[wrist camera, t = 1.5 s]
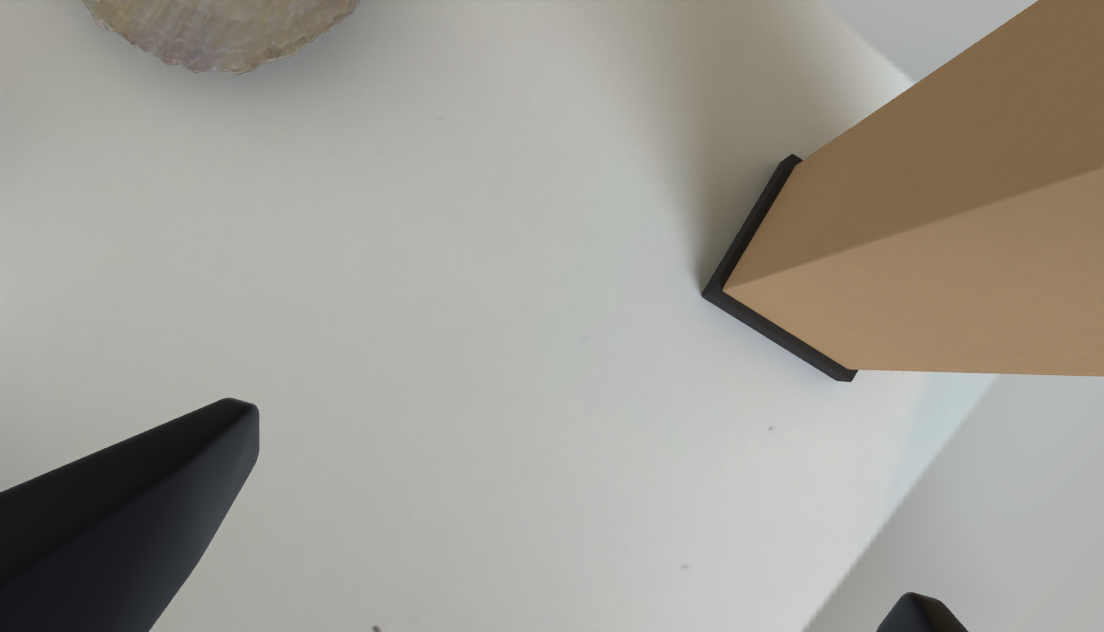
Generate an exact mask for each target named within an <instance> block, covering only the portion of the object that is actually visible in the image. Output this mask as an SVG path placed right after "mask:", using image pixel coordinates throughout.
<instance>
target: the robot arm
mask: <svg viewBox="0 0 1104 632" xmlns="http://www.w3.org/2000/svg"><path fill="white" fill-rule="evenodd" d="M258 454H259V410H258V408H257V406H255V405H254V404H252V403H248V402H245V401H241V400H238V399H234V398H224V399H221V400H219V401H217V402H214V403H212V404H209V405H207V406H205V407H202V408H200V409H198V410H195V411H193V412H190V413H188V414H186V415H183V416H181V417H179V418H176V419H174V420H171V421H169V422H167V423H164V424H162V425H159V426H157V427H155V428H152V429H150V430H148V431H145V432H143V433H140V434H138V435H136V436H133V437H131V438H129V439H126V440H124V441H121V442H119V443H117V444H114V445H112V446H110V447H107V448H105V449H102V450H100V451H98V452H95V453H93V454H91V455H88V456H86V457H83V458H81V459H79V460H76V461H74V462H72V463H69V464H67V465H64V466H62V467H60V468H57V469H55V470H52V471H50V472H48V473H45V474H43V475H41V476H38V477H36V478H33V479H31V480H29V481H26V482H24V483H22V484H19V485H17V486H14V487H12V488H10V489H7V490H5V491H3V492H0V632H149V630H150V629H151V628H152V626H153V625H154V623H155V622H156V621H157V619H158V618H159V617H160V615H161V614H162V612H163V611H164V610H165V608H166V607H167V606H168V604H169V603H170V601H171V600H172V599H173V597H174V596H175V595H176V593H177V592H178V590H179V589H180V588H181V586H182V585H183V584H184V582H185V581H186V579H187V578H188V577H189V575H190V574H191V572H192V571H193V569H194V568H195V566H196V565H197V564H198V562H199V560H200V559H201V557H202V555H203V554H204V552H205V551H206V549H207V547H208V546H209V544H210V542H211V540H212V539H213V537H214V535H215V533H216V532H217V530H218V528H219V526H220V525H221V523H222V521H223V519H224V518H225V516H226V514H227V512H228V511H229V509H230V507H231V505H232V504H233V502H234V500H235V499H236V497H237V495H238V493H239V492H240V490H241V488H242V486H243V485H244V483H245V481H246V479H247V478H248V476H249V474H250V472H251V471H252V469H253V467H254V465H255V463H256V461H257V458H258ZM877 632H968V631H967V630H966V628H965V627H964V626H963V625H962V624H961V623H960V622H959V621H958V620H957V618H956V617H955V616H954V615H953V614H952V613H951V611H950V610H949V609H948V608H947V607H946V606H945V605H944V604H943V603H942V602H941V601H939V600H937V599H935V598H931V597H928V596H924V595H920V594H917V593H913V592H908V593H906V594H904V595H903V596H901V598H900V599H899V600H898V601H897V603H896V604H895V605H894V607H893V608H892V609H891V611H890V612H889V614H888V615H887V616H886V618H885V619H884V620H883V621H882V623H881V624H880V625H879V627H878V629H877Z"/></svg>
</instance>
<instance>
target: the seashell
mask: <svg viewBox="0 0 1104 632" xmlns="http://www.w3.org/2000/svg"><path fill="white" fill-rule="evenodd" d="M79 1H80V2H81V3H83V4H84V5H86V7H87V8H88V9H89V11H90V12H91V14H92V16H93V19H94V21H95V23H96V24H97V25H98V26H99V27H100V28H103V29H106V30H109V31H113V32H116V33H118V34H119V35H120V36H122V37H123V38H125V39H126V40H128V41H129V42H130V43H131V44H133V45H136V46H138V47H140V48H141V49H142V50H144V51H145V52H148V53H151V54H153V55H155V56H157V57H159V58H160V59H161V60H162V61H163V62H164V64H165V65H182V66H184V67H187V68H188V69H189V70H191V71H192V72H194V73H197V72H207V71H225V72H228V71H232V72H233V73H235V74H237V75H238V74H241V73H245V72H249V71H253V70H254V69H256V68H257V67H259V66H260V65H262V64H265V63H268V62H272V61H275V60H279V59H282V58H285V57H288V56H291V55H293V54H295V53H297V52H298V51H300V50H301V49H302V48H303V47H305V46H306V45H308V44H309V43H311V42H312V41H313V40H314V39H315V38H316V37H318V36H320V35H321V34H323V33H325V32H327V31H328V30H330V29H331V28H332V27H334V26H336V25H337V24H339V23H341V22H342V21H344V20H345V19H346V18H347V17H348V16H349V15H350V14H351V13H352V12H353V11H354V9H355V8H356V7H357V5H358V4H359V3H360V1H361V0H79Z"/></svg>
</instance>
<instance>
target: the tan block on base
mask: <svg viewBox="0 0 1104 632" xmlns="http://www.w3.org/2000/svg"><path fill="white" fill-rule="evenodd" d="M702 297H703V298H704V299H706V300H708V301H709V302H711V303H712V304H714V305H716V306H717V307H719V308H721V309H722V310H724V311H725V312H727V313H729V314H730V315H732V316H733V317H735V318H737V319H738V320H740V321H741V322H743V323H745V324H746V325H748V326H749V327H751V328H753V329H754V330H756V331H757V332H759V333H761V334H762V335H764V336H766V337H767V338H769V339H770V340H772V341H774V342H775V343H777V344H778V345H780V346H782V347H783V348H785V349H786V350H788V351H790V352H791V353H793V354H794V355H796V356H798V357H799V358H801V359H802V360H804V361H806V362H807V363H809V364H811V365H812V366H814V367H815V368H817V369H819V370H820V371H822V372H823V373H825V374H827V375H828V376H830V377H831V378H833V379H835V380H836V381H845V382H851V381H852V380H853V378H854V376H855V375H856V373H857V371H858V370H890V371H925V372H961V373H997V374H1034V375H1068V376H1070V375H1071V376H1104V0H1038V1H1037V2H1035V3H1034V4H1032V5H1031V6H1030V7H1028V8H1027V9H1025V10H1024V11H1022V12H1021V13H1019V14H1018V15H1016V16H1015V17H1013V18H1012V19H1010V20H1009V21H1008V22H1006V23H1005V24H1003V25H1002V26H1000V27H999V28H997V29H996V30H994V31H993V32H991V33H990V34H989V35H987V36H985V37H984V38H983V39H981V40H980V41H978V42H977V43H975V44H974V45H972V46H971V47H969V48H968V49H966V50H965V51H964V52H962V53H960V54H959V55H958V56H956V57H955V58H953V59H952V60H950V61H949V62H947V63H946V64H944V65H943V66H941V67H940V68H938V69H937V70H936V71H934V72H933V73H931V74H930V75H928V76H927V77H925V78H924V79H922V80H921V81H919V82H918V83H916V84H915V85H914V86H912V87H911V88H909V89H908V90H906V91H905V92H903V93H902V94H900V95H899V96H897V97H896V98H894V99H893V100H891V101H890V102H889V103H887V104H886V105H884V106H883V107H881V108H880V109H878V110H877V111H875V112H874V113H872V114H871V115H869V116H868V117H867V118H865V119H864V120H862V121H861V122H859V123H858V124H856V125H855V126H853V127H852V128H850V129H849V130H847V131H846V132H845V133H843V134H842V135H840V136H839V137H837V138H836V139H834V140H833V141H831V142H830V143H828V144H827V145H825V146H824V147H823V148H821V149H820V150H818V151H817V152H815V153H814V154H812V155H811V156H809V157H808V158H806V159H805V160H802V159H800V158H798V157H797V156H795V155H794V154H791V155H790V156H788V157H787V158H786V159H784V160H783V161H782V162H780V164H779V166H778V167H777V169H776V171H775V172H774V174H773V176H772V177H771V179H770V181H769V182H768V184H767V186H766V188H765V189H764V191H763V193H762V194H761V196H760V198H759V199H758V201H757V203H756V204H755V206H754V208H753V209H752V211H751V213H750V214H749V216H748V218H747V219H746V221H745V223H744V224H743V226H742V228H741V229H740V231H739V233H738V234H737V236H736V238H735V239H734V241H733V243H732V245H731V246H730V248H729V250H728V251H727V253H726V255H725V256H724V258H723V260H722V261H721V263H720V265H719V266H718V268H717V270H716V271H715V273H714V275H713V276H712V278H711V280H710V281H709V283H708V285H707V286H706V288H705V290H704V291H703V293H702Z"/></svg>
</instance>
